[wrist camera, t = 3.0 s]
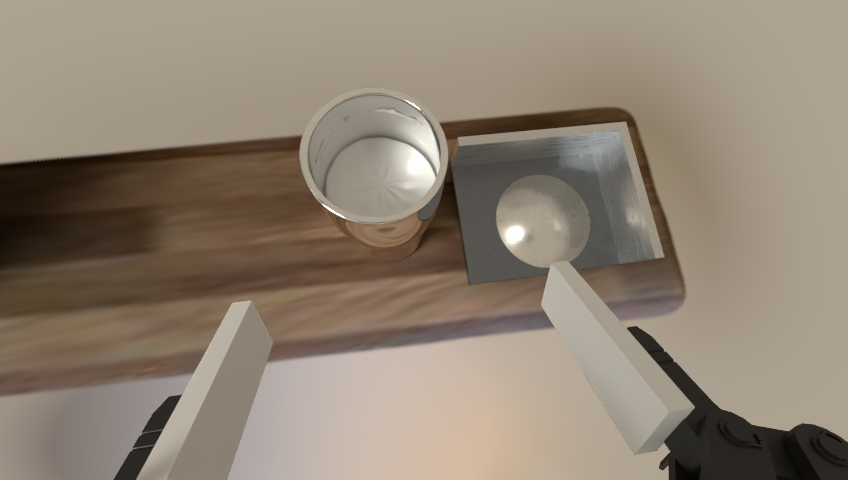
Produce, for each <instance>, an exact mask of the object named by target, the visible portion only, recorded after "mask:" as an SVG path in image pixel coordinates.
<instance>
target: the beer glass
mask: <svg viewBox="0 0 848 480" xmlns="http://www.w3.org/2000/svg"><path fill="white" fill-rule="evenodd" d="M299 159H300V167H301V172H302V175H303V178H304V181H305V183H306V185H307V187H308V189H309V190H310V192H311V193H312V195H313V196H314V197H315V199H316V200H317V202H318V204H319V205H320V207H321V208H322V210H323V212H324V213H325V214H326V216H327V217H328V218H329V220H330V221H331V222H332V223H333V224H334V226H335V227H336V228H337V229H338V230H339V231H341V232H342V233H343V234H344V235H345V236H347V237H348V238H349V239H351V240H352V241H354V242H356V243H358V244H360V245H362V246H363V248H364V249H365V250H366V251H367V252H368V253H369V254H370V255H371V256H373V257H375V258H377V259H379V260H383V261H398V260H401V259H404V258H406V257H408V256H409V255H411V254H412V253H413V252H414V251H415V250H416V249H417V247H418V246H419V244H420V242H421V240H422V237H423V232H424V231H425V230H426V229H427V228H428V227H429V225H430V224H431V222H432V220H433V218H434V216H435V214H436V212H437V210H438V208H439V205H440V201H441V198H442V194H443V189H444V182H445V175H446V171H447V166H448V147H447V142H446V138H445V135H444V132H443V130H442V128H441V126H440V124H439V122H438V121H437V119H436V118H435V116H434V115H433V114H432V113H431V112H430V111H429V110H428V109H427V108H426V107H425V106H424V105H423V104H422V103H420V102H419V101H417V100H416V99H414V98H412V97H410V96H409V95H406V94H404V93H401V92H399V91H396V90H392V89H387V88H377V87H376V88H374V87H372V88H361V89H356V90H352V91H349V92H346V93H343V94H341V95H339V96H337V97H335V98H333V99H332V100H330V101H329V102H327V103H326V104H325V105H324V106H322V107H321V108H320V109H319V110H318V111H317V112H316V113H315V115H314V116H313V117H312V119H311V120H310V121H309V123H308V125H307V127H306V129H305V131H304V134H303V136H302V140H301V144H300V153H299Z"/></svg>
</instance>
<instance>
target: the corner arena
mask: <svg viewBox="0 0 848 480" xmlns="http://www.w3.org/2000/svg"><path fill="white" fill-rule="evenodd" d="M449 165H450V171H451V177H452V184H453V190H454V196H455V202H456V208H457V214H458V221H459V227H460V233H461V239H462V245H463V252H464V258H465V264H466V270H467V276H468V283H469V285H471V284H479V283H486V282H493V281H501V280H508V279H515V278H523V277H530V276H537V275H545V274H549V270H550V265H551V262H558V261H566V260H567V261H568V262H569V263H570V264H571V265H572V266H573V268H574V269H575V270H581V269H588V268H596V267H603V266H610V265H618V264H625V263H631V262H637V261H643V260H650V259H656V258H662V257H664V253H663V250H662V246H661V243H660V239H659V236H658V232H657V229H656V225H655V222H654V218H653V215H652V211H651V208H650V204H649V201H648V197H647V193H646V190H645V186H644V183H643V179H642V176H641V172H640V169H639V165H638V162H637V158H636V155H635V151H634V148H633V144H632V141H631V137H630V134H629V130H628V127H627V123H626V122H617V123H606V124H595V125H584V126H574V127H563V128H552V129H541V130H531V131H520V132H509V133H498V134H488V135H477V136H466V137H457V140H456V144H455V147H454V150H453V153H452V156H451V159H450V162H449Z"/></svg>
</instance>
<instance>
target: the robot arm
mask: <svg viewBox="0 0 848 480" xmlns="http://www.w3.org/2000/svg"><path fill="white" fill-rule="evenodd" d="M541 306H542V308H543V309H544V311H545V313H546V314H547V316H548V317H549V319H550V321H551V322H552V324H553V325H554V327H555V329H556V330H557V332H558V333H559V335H560V336H561V338H562V340H563V341H564V343H565V345H566V346H567V348H568V349H569V351H570V353H571V354H572V356H573V357H574V359H575V361H576V362H577V364H578V365H579V367H580V368H581V370H582V372H583V373H584V375H585V377H586V378H587V380H588V381H589V383H590V385H591V386H592V388H593V389H594V391H595V392H596V394H597V396H598V397H599V399H600V401H601V402H602V404H603V405H604V407H605V409H606V410H607V412H608V413H609V415H610V417H611V418H612V420H613V421H614V423H615V424H616V426H617V428H618V429H619V431H620V433H621V434H622V436H623V437H624V439H625V441H626V442H627V444H628V445H629V447H630V449H631V450H632V452H633V453H634V455H637V454H642V453H647V452H653V451H657V450H658V448H659V447H660V446H661V445H662V444H663V443H665V444H666V446H667V447H668V449H669V450H670V451H671V452H670V453H669V454H668V455H667V456H666V457H665V458H664V459H663V460H662V461H661V463H660V466H659V469H661V470H664V469H665V468H666V467H667V466H668V465H669V480H848V442H846V441H845V440H844V439H842V438H841V437H839V436H838V435H836V434H834V433H832V432H830V431H828V430H827V429H824V428H821V427H818V426H816V425H813V424H803V423H802V424H801V425H798V426H796V427H794V428H793V429H792V430H790V431H783V430H777V429H772V428H766V427H760V426H755V425H751V424H750V423H749V422H747V421H746V420H745V419H743V418H742V417H739V416H738V415H736V414H734V413H732V412H728V411H725V410H721V409H720V408H719V407H718V406H717V405H716V404H715V403H713V402H712V401H711V399H710V398H709V397H708V396H707V395H706V394H705V393H704V392H703V391H702V390H701V389H700V388H699V387H698V385H696V383H695V382H694V381H693V380H692V379H691V378H690V377H689V376H688V375H687V374H686V373H685V372H684V371H683V369H682V368H681V367H680V366H679V365H678V364H677V363H676V362H674V361H673V359H672V358H671V357H670V355H669V354H668V353H667V352H664V349H663V348H662V347H661V346H660V345H659V344H658V343H657V342H656V340H655V339H654V338H652V336H650V335H649V334H647V333H646V332H644V331H643V330H641V329H640V328H638V327H637V326H634V327H628V328H625V326H624V325H623V324H622V323H621V322H620V320H619V319H618V318H617V317H616V316H615V315H614V313H613V312H612V311H611V310H610V309H609V308H608V307H607V305H606V304H605V303H604V302H603V301H602V300H601V299H600V297H599V296H598V295H597V294H596V293H595V292H594V291H593V289H592V288H591V287H590V286H589V285H588V284H587V282H586V281H585V280H584V279H583V278H582V277H581V276H580V274H579V273H578V272H577V271H576V270H575V269H574V268H573V266H572V265H571V264H570V263H569V262H568V261H567V260H566V261H558V262H551V265H550V270H549V274H548V278H547V282H546V286H545V290H544V294H543V299H542V303H541ZM272 345H273V341H272V339H271V337H270V335H269V333H268V331H267V329H266V327H265V325H264V323H263V321H262V320H261V318H260V316H259V314H258V312H257V310H256V308H255V306H254V304H253V302H252V300H251V301H243V302H235V303H232V305H231V306H230V308H229V310H228V312H227V314H226V316H225V317H224V319H223V321H222V323H221V325H220V327H219V328H218V330H217V332H216V334H215V336H214V338H213V339H212V341H211V343H210V345H209V347H208V349H207V350H206V352H205V354H204V356H203V358H202V360H201V361H200V363H199V365H198V367H197V369H196V371H195V372H194V374H193V376H192V378H191V380H190V382H189V384H188V385H187V387H186V389H185V391H184V393H183V395H178V396H171V397H168V398H167V399H166V400H165V402H164V403H163V404H162V405H161V406H160V407H159V408H158V409H157V410H156V411H155V412H154V413H153V414H152V417H151V418H150V420H149V421H148V423H147V425H146V426H145V428H144V430H143V431H142V435H141V436H139V438H138V440H137V441H136V443H135V445H134V446H133V450H132V451H131V452H130V453H129V455H128V456H127V458H126V460H125V461H124V463H123V465H122V466H121V468H120V470H119V471H118V473H117V475H116V477H115V478H114V480H227V478H228V475H229V472H230V469H231V466H232V463H233V460H234V457H235V454H236V451H237V448H238V445H239V442H240V440H241V437H242V434H243V431H244V427H245V425H246V422H247V419H248V416H249V413H250V410H251V407H252V404H253V401H254V398H255V395H256V392H257V389H258V386H259V383H260V380H261V377H262V374H263V371H264V369H265V366H266V363H267V360H268V357H269V354H270V351H271V348H272Z"/></svg>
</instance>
